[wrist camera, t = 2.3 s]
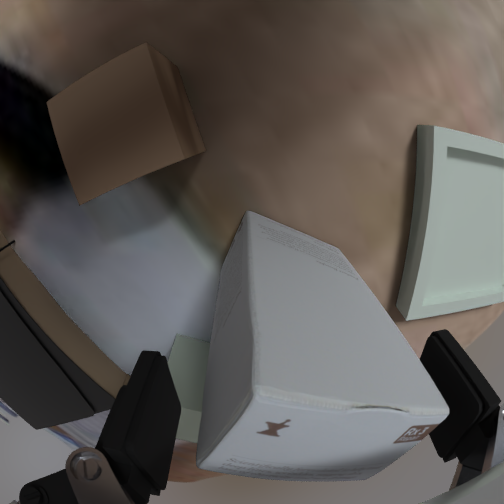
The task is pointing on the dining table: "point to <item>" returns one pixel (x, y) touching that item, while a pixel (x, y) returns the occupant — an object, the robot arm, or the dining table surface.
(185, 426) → the sage block
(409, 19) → the dining table surface
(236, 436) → the skincare box
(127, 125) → the walnut cube
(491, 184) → the tray
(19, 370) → the file folder
